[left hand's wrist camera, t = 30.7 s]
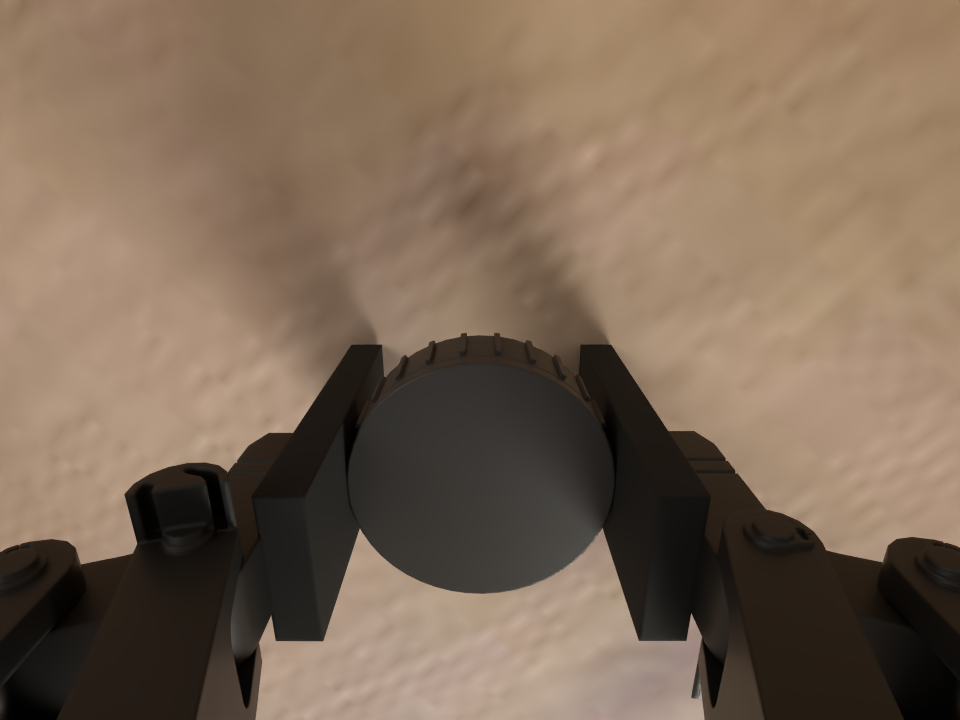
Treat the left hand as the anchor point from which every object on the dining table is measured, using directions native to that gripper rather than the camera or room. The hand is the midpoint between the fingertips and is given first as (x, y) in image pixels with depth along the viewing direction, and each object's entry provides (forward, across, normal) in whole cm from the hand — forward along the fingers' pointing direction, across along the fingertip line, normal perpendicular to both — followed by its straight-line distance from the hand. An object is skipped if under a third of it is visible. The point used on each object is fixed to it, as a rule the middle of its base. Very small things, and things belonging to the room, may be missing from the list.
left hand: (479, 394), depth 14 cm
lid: (-4, 0, 0) cm, 4 cm away
